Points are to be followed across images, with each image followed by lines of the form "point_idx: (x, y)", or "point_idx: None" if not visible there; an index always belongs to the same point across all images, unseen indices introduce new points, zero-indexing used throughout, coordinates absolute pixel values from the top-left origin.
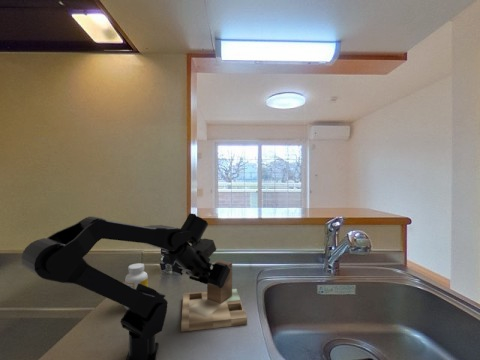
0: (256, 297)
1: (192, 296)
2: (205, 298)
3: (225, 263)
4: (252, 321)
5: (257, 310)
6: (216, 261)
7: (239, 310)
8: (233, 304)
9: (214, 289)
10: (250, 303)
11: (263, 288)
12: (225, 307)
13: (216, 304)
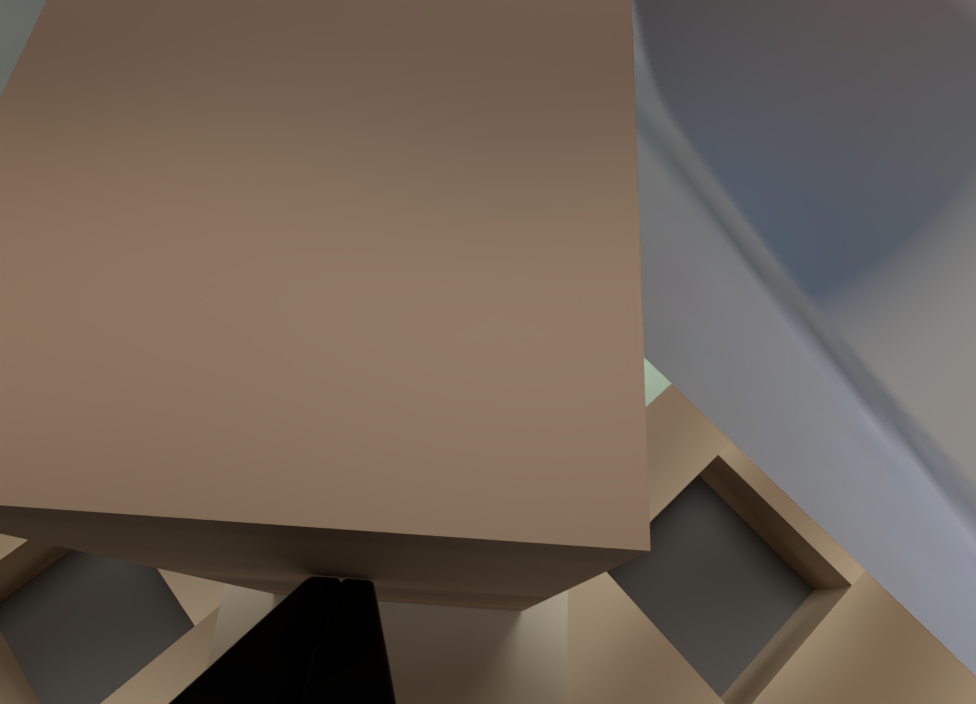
0: (683, 187)
1: (4, 578)
2: (240, 594)
3: (468, 47)
4: (956, 618)
5: (850, 395)
6: (69, 34)
7: (831, 620)
8: (656, 511)
9: (389, 591)
10: (706, 311)
11: (637, 25)
12: (632, 654)
13: (478, 654)
